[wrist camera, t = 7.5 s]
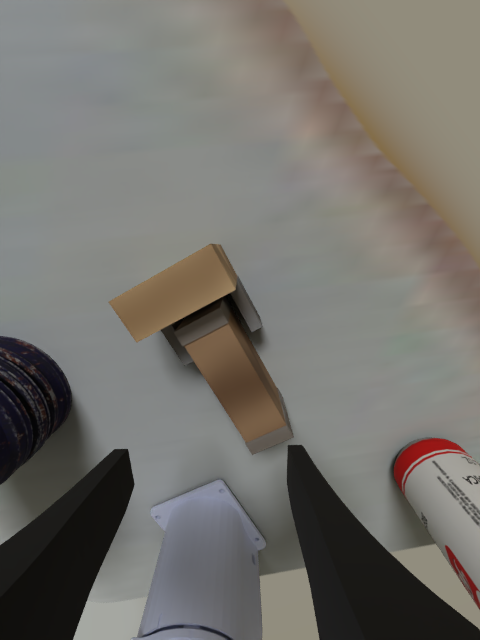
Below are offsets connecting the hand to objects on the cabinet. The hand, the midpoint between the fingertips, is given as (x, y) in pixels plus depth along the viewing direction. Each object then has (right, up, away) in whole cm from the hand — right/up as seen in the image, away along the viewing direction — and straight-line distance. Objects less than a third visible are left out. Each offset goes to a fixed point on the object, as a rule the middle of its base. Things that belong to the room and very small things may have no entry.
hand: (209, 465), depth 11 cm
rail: (+1, +4, +9) cm, 10 cm away
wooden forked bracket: (-1, +8, +8) cm, 11 cm away
